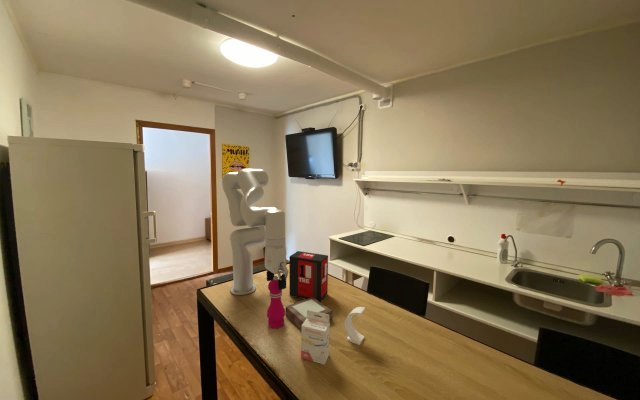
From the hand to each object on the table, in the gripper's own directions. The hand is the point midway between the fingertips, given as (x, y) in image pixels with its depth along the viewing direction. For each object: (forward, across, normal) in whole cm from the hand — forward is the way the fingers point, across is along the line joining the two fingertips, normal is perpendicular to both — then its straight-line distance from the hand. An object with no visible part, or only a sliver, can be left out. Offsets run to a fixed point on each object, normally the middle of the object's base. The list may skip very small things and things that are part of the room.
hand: (276, 284), depth 101 cm
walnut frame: (+17, +3, +13) cm, 21 cm away
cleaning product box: (+17, -13, +24) cm, 32 cm away
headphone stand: (+17, +24, +19) cm, 35 cm away
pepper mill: (+17, -1, 0) cm, 17 cm away
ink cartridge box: (+17, +23, +2) cm, 29 cm away
